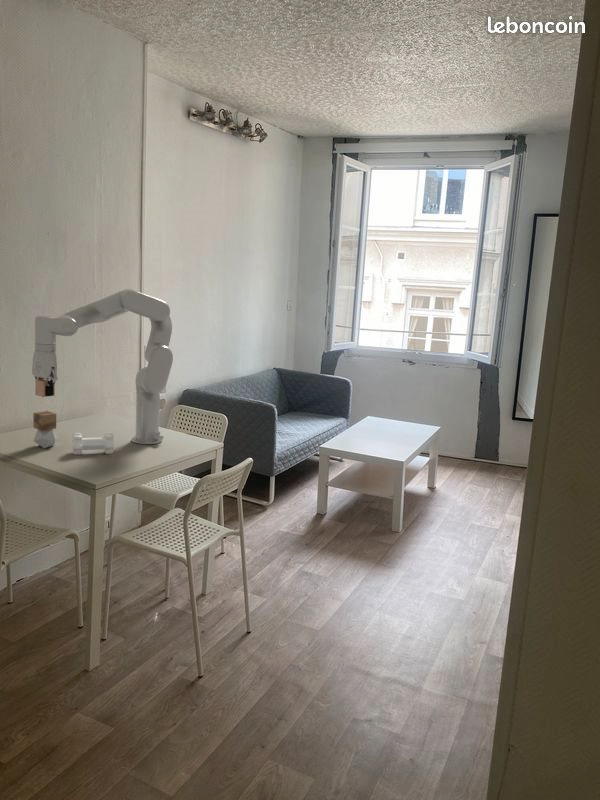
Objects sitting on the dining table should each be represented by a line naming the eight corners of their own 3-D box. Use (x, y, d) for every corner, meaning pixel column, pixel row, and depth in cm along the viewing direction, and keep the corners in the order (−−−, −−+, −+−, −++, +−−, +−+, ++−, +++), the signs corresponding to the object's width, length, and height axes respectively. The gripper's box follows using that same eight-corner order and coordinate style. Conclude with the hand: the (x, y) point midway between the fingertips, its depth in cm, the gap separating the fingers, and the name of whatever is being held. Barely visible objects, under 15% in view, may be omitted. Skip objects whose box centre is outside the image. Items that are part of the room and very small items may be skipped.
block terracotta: (54, 395, 245) (54, 380, 243) (42, 397, 240) (43, 381, 239) (47, 393, 247) (47, 378, 246) (35, 394, 243) (35, 379, 242)
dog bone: (112, 450, 250) (112, 430, 249) (114, 456, 242) (114, 435, 241) (72, 451, 245) (72, 431, 243) (73, 457, 237) (73, 436, 235)
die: (60, 449, 247) (63, 427, 251) (43, 442, 240) (46, 420, 244) (44, 454, 250) (47, 431, 254) (27, 447, 243) (31, 424, 247)
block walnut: (56, 428, 247) (56, 413, 245) (42, 430, 242) (42, 415, 241) (47, 425, 250) (47, 410, 249) (33, 427, 245) (33, 412, 244)
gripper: (23, 345, 242) (23, 391, 246) (49, 351, 233) (49, 399, 236) (41, 345, 248) (41, 390, 252) (67, 350, 239) (66, 397, 242)
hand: (45, 394), depth 244 cm, fingers closed on block terracotta, 5 cm apart
